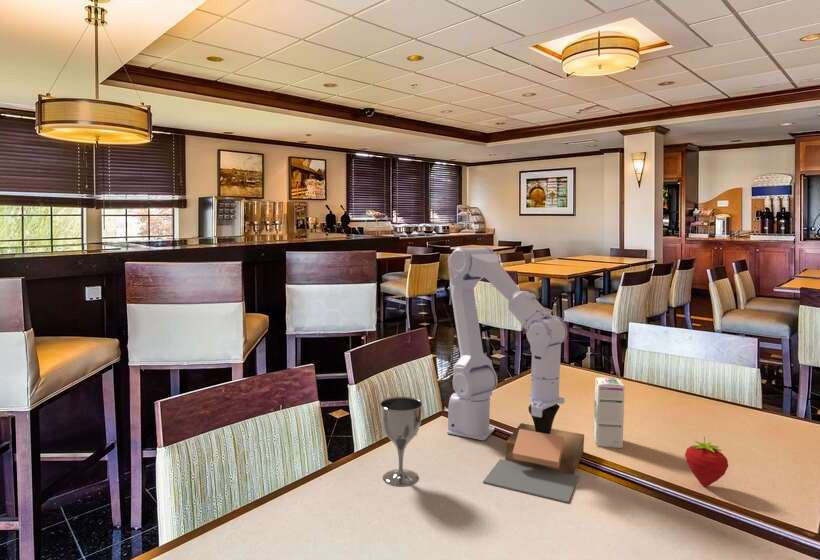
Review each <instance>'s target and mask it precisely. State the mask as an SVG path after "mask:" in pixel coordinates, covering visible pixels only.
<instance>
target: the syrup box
mask: <svg viewBox="0 0 820 560" xmlns="http://www.w3.org/2000/svg"><path fill="white" fill-rule="evenodd" d="M594 381H595V383H594V387H595V388H594V407H593V408H594V411H593V439H594V442H595V445H596V446H597V447H603V448H604V447H605V448H614V449H615V448H617V449H622V448H623V442H624V441H623V440H624V439H623V438H624V421H625V419H624V417H625V415H624V414H625V412H624V411H625V389H626V387H625V385H624V384H623V381H622V380H621V378H616V377H605V376H604V377H595V379H594Z"/></svg>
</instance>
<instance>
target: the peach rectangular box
mask: <svg viewBox="0 0 820 560" xmlns="http://www.w3.org/2000/svg"><path fill="white" fill-rule="evenodd" d="M563 447H564V437H562V436H556V435H550V434H545V433H539V432H534V431H528V430H523V429H519V432H518V436H517V439H516V443H515V446H514V449H513V458H514V459H516V460H521V461H526V462H531V463H536V464H541V465H545V466H550V467H555V468H559V465H560V461H561V456H562V451H563Z"/></svg>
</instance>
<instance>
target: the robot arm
mask: <svg viewBox="0 0 820 560" xmlns="http://www.w3.org/2000/svg"><path fill="white" fill-rule="evenodd" d="M447 265H448V270H449V288H450V289H449V290H450V296H451V302H452V308H453V316H454V323H455V329H456V334H457V343H458V349H459V356H460V357H459V358H458V360H457V361H456V362H455V364H454V365H453V367H452V369H453V370H452V371H453V377H452V387H453V390H454V392H453V393H452V394H451V396H450V397H449V402H448V408H447V409H448V411H447V413H448V414H447V415H448V418H447V430H446V434H449V435H453V436H459V437H464V438H470V439H474V440H479V441H485V440H487V439H488V438H489V436H490V435H491V434H492V433H493V432H494V431H495V427H494V426H490V413H491V412H490V410H491V409H490V408H491V396H492V395H493V391H494V390H495V389H496V388H497V385H498V382H499V381H498V380H499V379H498V375H497V373H496V371H495V369H494V367H493V360H492V359H490V358H489V357H488V356H487V355H486V354H484V349H483V343H482V335H481V328H480V323H479V316H478V310H477V305H476V302H477V301H476V296H475V292H474V291H475V290H474V288H475V287H476V286H477V285H478V283H479V282H480V281H482V279H486V280H487V281H488V282H489V283H490V284H491V285H492V286H493V287H494V288H495V290H497V291H498V292H499V293H500V294H501V295H502V296H503V297H504V298H505V299H506V300H507V301H508V307H507V308H508V310H509V311H510V312H511V314H512V315H513V316H514V317H515V319H516V320H517V321H518V323H520V324H521V326H522V327H523V328H524V329H525V330H526V331H525V334H526V339H527V342H528V344H529V345H530V352H531V367H530V368H531V371H530V373H531V374H530V394H529V397H528V398H529V403H530V404H529V406H528V412H529V414H530V416H531V418H532V422H533V425H535V431H536V432H539V433H545V434H550V432H551V429H553V428H552V426H553V423H554V420H555V417H556V414H557V413H558V411H559V409H560V405H563V404H565V402H566V399H565V398H564V397H561V396H560V382H561V381H560V380H561V379H560V377H561V355H562V353H561V352H562V343H564V342H565V340H566V339H567V336H568V328H567V324H566V323H565V322H564V320H563V318H562V317H559V316H557V315H552V314H551V312H550V311H549V310H547V309H545V308H544V306H543V305H542V304H541V303H540V302H539V301H538V300H537V299H536V298H537V296H536V294H534V292H530V291H528V290H527V291H526V290H524V291H523V290H521V289H520V288H519V286H518V285H517V284H516V283H515V281H514V280H513V278H512V277H511V276H510V275H509V273H508V272H507V271H506V269H505V268H504V267H503V266H502V264H501V263H500V258H499V256H498V255H497V254H496V253H495V252H494V250H493V249H492V248H490V247H489V246H482V247H456V248H455V249H454V250H453V251H452V253H451V254H450V256H449V257H448V259H447Z"/></svg>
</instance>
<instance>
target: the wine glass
mask: <svg viewBox="0 0 820 560" xmlns="http://www.w3.org/2000/svg"><path fill="white" fill-rule="evenodd" d="M422 413H423V403H422V401H421V400H419V399H417V398H415V397H411V396H410V397H409V396H392V397H388V398H385V399H382V401H380V419H381V426H382V429H383V431H384V434H385V436H386V437H387V438H389V440H390V441H391V442H392V443H393V444H394V446H395V447H396V450H397V455H398V468H395V469H394V468H393V469H390V470H387V471H386V472H385V473H384V474H383V475H382V481H383V482H384V483H385V484H387V485H390V486H392V487H409V486H412V485H415V484H416V483H418V482H419V479H420V477H419V474H418V473H417V472H415V471H414V470H411V469H408V468H404V465H403V464H404V455H405V450H406V448H407V446H408V445H409V443H410V442H412V440H413V439H414V438H415V437H416V436H417V434H418V432H419V430H420V426H421V422H422V418H423V417H422V415H423V414H422Z"/></svg>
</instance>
